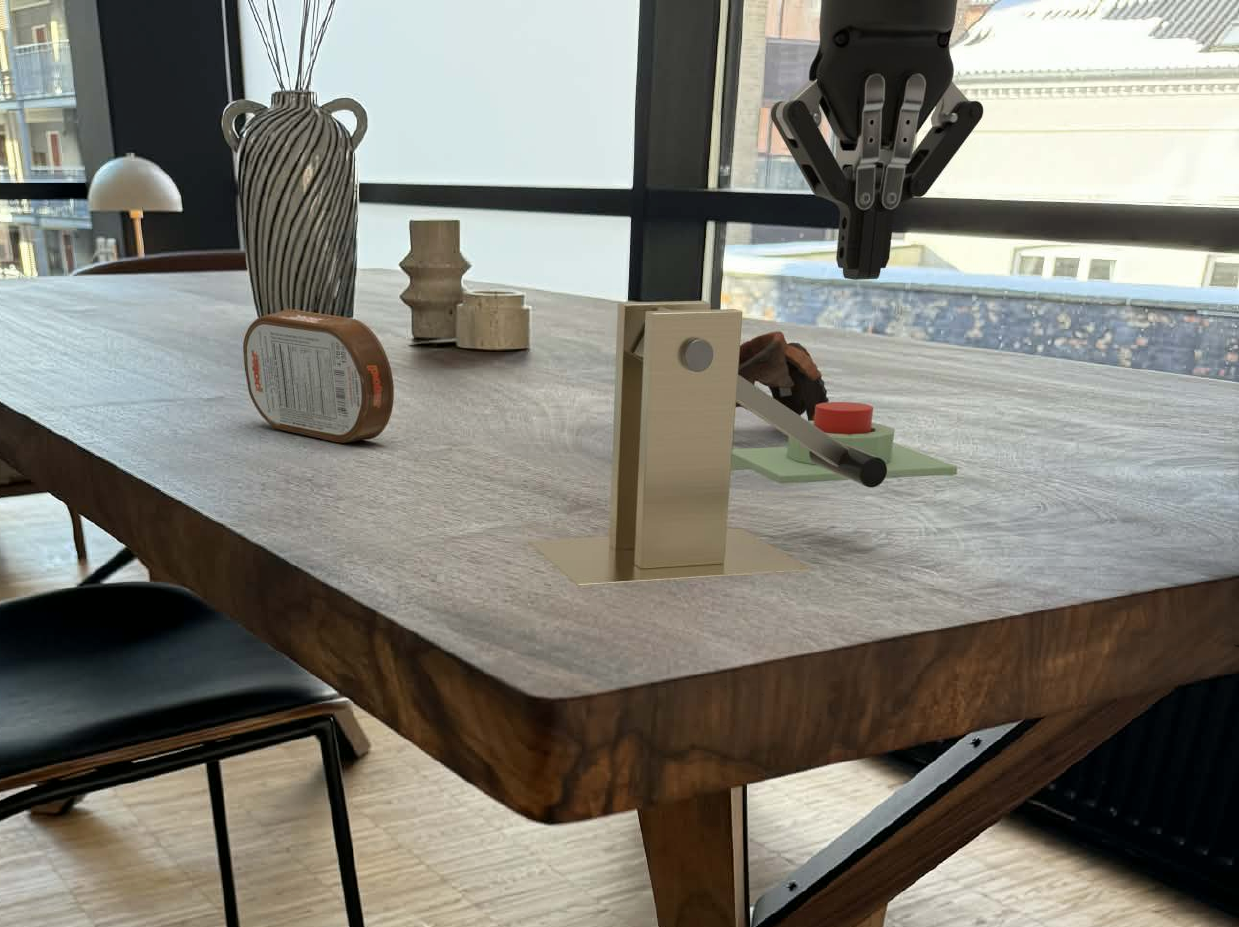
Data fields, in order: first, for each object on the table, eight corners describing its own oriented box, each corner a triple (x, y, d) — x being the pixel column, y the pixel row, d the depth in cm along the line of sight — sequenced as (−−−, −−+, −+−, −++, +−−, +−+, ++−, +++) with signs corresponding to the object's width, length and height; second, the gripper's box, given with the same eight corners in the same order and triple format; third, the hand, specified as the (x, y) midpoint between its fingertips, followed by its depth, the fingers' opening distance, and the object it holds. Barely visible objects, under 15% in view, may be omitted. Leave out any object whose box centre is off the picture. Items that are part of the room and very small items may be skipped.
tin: (399, 446, 110) (395, 320, 106) (365, 451, 108) (360, 323, 104) (274, 421, 119) (266, 304, 115) (241, 425, 117) (231, 307, 113)
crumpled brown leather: (826, 459, 108) (776, 353, 104) (713, 505, 114) (663, 406, 110) (867, 391, 116) (822, 290, 112) (759, 438, 122) (713, 343, 118)
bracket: (740, 552, 82) (760, 295, 76) (809, 595, 75) (838, 313, 68) (527, 565, 80) (530, 300, 73) (577, 611, 72) (584, 319, 66)
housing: (888, 467, 103) (894, 413, 102) (954, 494, 96) (962, 436, 94) (723, 475, 101) (727, 420, 99) (778, 503, 93) (783, 444, 91)
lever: (818, 478, 80) (844, 436, 79) (870, 501, 75) (898, 457, 74) (620, 348, 74) (645, 301, 73) (661, 364, 69) (689, 314, 68)
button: (854, 429, 99) (857, 400, 98) (879, 438, 96) (883, 409, 95) (803, 431, 98) (806, 402, 97) (827, 441, 95) (830, 411, 94)
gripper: (813, -77, 79) (785, 286, 88) (1038, -71, 82) (990, 280, 90) (757, -61, 86) (736, 276, 94) (968, -55, 88) (929, 271, 97)
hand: (861, 277), depth 92 cm, fingers closed
